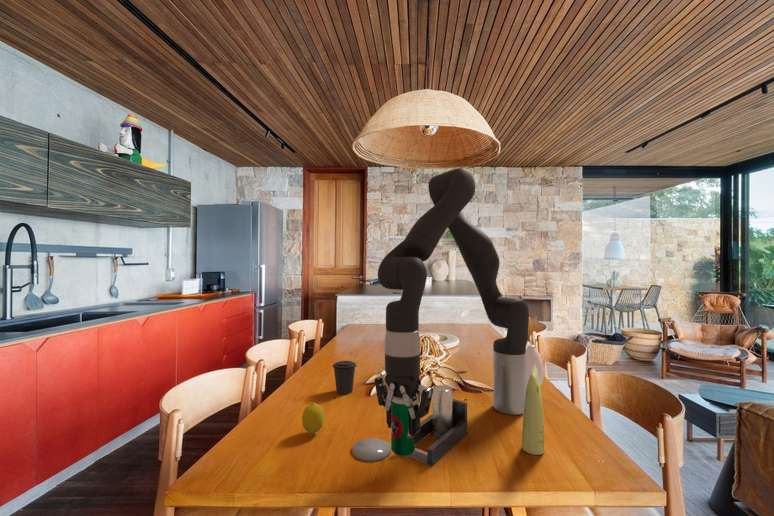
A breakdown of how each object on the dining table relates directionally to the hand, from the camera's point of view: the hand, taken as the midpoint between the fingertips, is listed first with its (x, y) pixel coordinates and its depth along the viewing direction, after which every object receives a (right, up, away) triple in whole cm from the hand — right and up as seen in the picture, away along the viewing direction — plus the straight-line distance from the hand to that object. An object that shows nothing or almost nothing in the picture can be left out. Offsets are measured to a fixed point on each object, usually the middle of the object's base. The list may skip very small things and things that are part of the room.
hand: (402, 430), depth 75 cm
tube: (+31, -9, +8) cm, 33 cm away
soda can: (0, -5, 0) cm, 5 cm away
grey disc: (-7, -8, +8) cm, 13 cm away
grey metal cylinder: (+11, -9, +14) cm, 20 cm away
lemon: (-22, -9, +15) cm, 28 cm away
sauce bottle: (+46, -9, +46) cm, 66 cm away
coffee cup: (-18, -9, +45) cm, 49 cm away
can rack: (+8, -9, +11) cm, 16 cm away
